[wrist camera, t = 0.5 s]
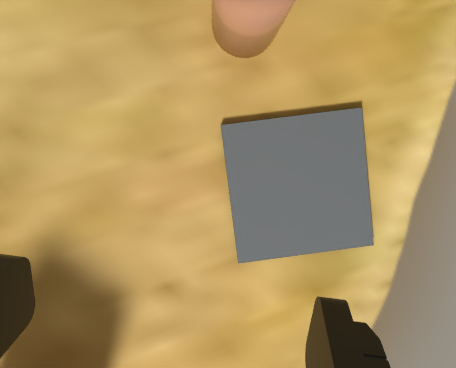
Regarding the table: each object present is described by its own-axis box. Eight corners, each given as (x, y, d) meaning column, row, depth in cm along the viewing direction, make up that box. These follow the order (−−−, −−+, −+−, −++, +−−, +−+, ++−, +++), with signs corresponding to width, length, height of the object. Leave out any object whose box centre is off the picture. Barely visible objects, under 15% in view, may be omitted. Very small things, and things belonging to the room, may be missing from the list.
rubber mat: (220, 125, 32) (220, 125, 31) (359, 108, 32) (361, 107, 32) (238, 261, 33) (238, 263, 33) (370, 243, 34) (373, 244, 33)
